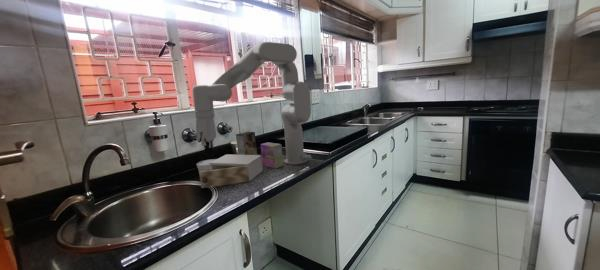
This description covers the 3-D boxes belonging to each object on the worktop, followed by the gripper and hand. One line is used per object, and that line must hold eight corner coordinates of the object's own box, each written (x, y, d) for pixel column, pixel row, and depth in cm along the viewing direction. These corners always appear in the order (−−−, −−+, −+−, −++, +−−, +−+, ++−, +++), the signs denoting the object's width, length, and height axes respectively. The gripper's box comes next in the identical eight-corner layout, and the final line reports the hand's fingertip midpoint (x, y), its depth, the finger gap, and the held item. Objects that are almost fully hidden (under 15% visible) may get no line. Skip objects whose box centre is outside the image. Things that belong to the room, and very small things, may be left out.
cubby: (262, 170, 127) (261, 155, 126) (249, 181, 114) (247, 164, 113) (228, 169, 133) (226, 154, 132) (211, 178, 120) (209, 162, 119)
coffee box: (250, 157, 153) (247, 131, 150) (258, 158, 149) (255, 131, 146) (238, 161, 146) (235, 134, 142) (246, 163, 142) (242, 135, 139)
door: (248, 180, 114) (247, 165, 112) (248, 182, 111) (247, 167, 110) (201, 187, 110) (199, 171, 108) (200, 189, 107) (198, 173, 106)
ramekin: (201, 169, 136) (200, 159, 135) (222, 167, 137) (221, 158, 136) (194, 176, 125) (193, 166, 124) (217, 174, 126) (216, 164, 125)
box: (262, 165, 136) (260, 144, 133) (270, 162, 140) (268, 141, 137) (275, 169, 129) (273, 146, 126) (283, 165, 133) (281, 144, 130)
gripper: (203, 113, 115) (208, 152, 119) (188, 117, 101) (193, 161, 104) (219, 112, 115) (223, 151, 118) (206, 116, 100) (211, 161, 104)
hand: (209, 156), depth 111 cm, fingers closed
